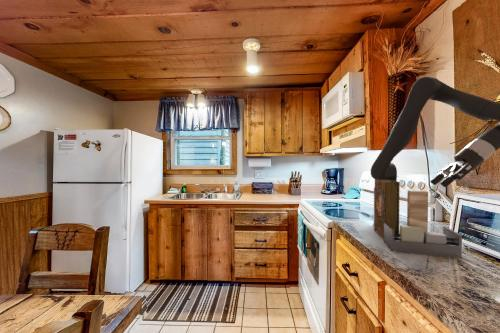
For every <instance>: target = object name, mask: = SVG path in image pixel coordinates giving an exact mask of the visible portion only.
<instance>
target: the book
mask: <svg viewBox="0 0 500 333" xmlns="http://www.w3.org/2000/svg"><path fill="white" fill-rule="evenodd" d="M400 185H401V184H400V182H399V181H393V180H388V179H374V187H375V203H374V202H373V231H374V232H375V233H376V234H377V235H378V236H379V237H380V238H381V239H383V240H384V223H387V224H388V225H389V226H390V227H391V228H392V229H393V230H394V233H400V192H401V191H400V190H401V189H400Z"/></svg>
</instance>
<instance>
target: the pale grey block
mask: <svg viewBox="0 0 500 333" xmlns="http://www.w3.org/2000/svg"><path fill="white" fill-rule="evenodd" d="M424 243H435V244H446V235H444V234H443V233H439V232H438V233H435V232H428V233H424Z"/></svg>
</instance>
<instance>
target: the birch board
mask: <svg viewBox="0 0 500 333" xmlns="http://www.w3.org/2000/svg"><path fill="white" fill-rule="evenodd" d="M406 200H407V201H406V202H407V204H406V205H407V207H406V208H407V210H406V220H407V221H406V224H407V225H406V226H415V227H422V228H423V229H424V233H429V230H428V227H429V226H428V224H429V191H426V190H410V189H409V190H407V199H406Z"/></svg>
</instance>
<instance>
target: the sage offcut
mask: <svg viewBox="0 0 500 333" xmlns="http://www.w3.org/2000/svg"><path fill="white" fill-rule="evenodd" d="M399 233H400V241H410V242H422V243H424V229H423V228H422V227H415V226H407V225H399Z"/></svg>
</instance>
